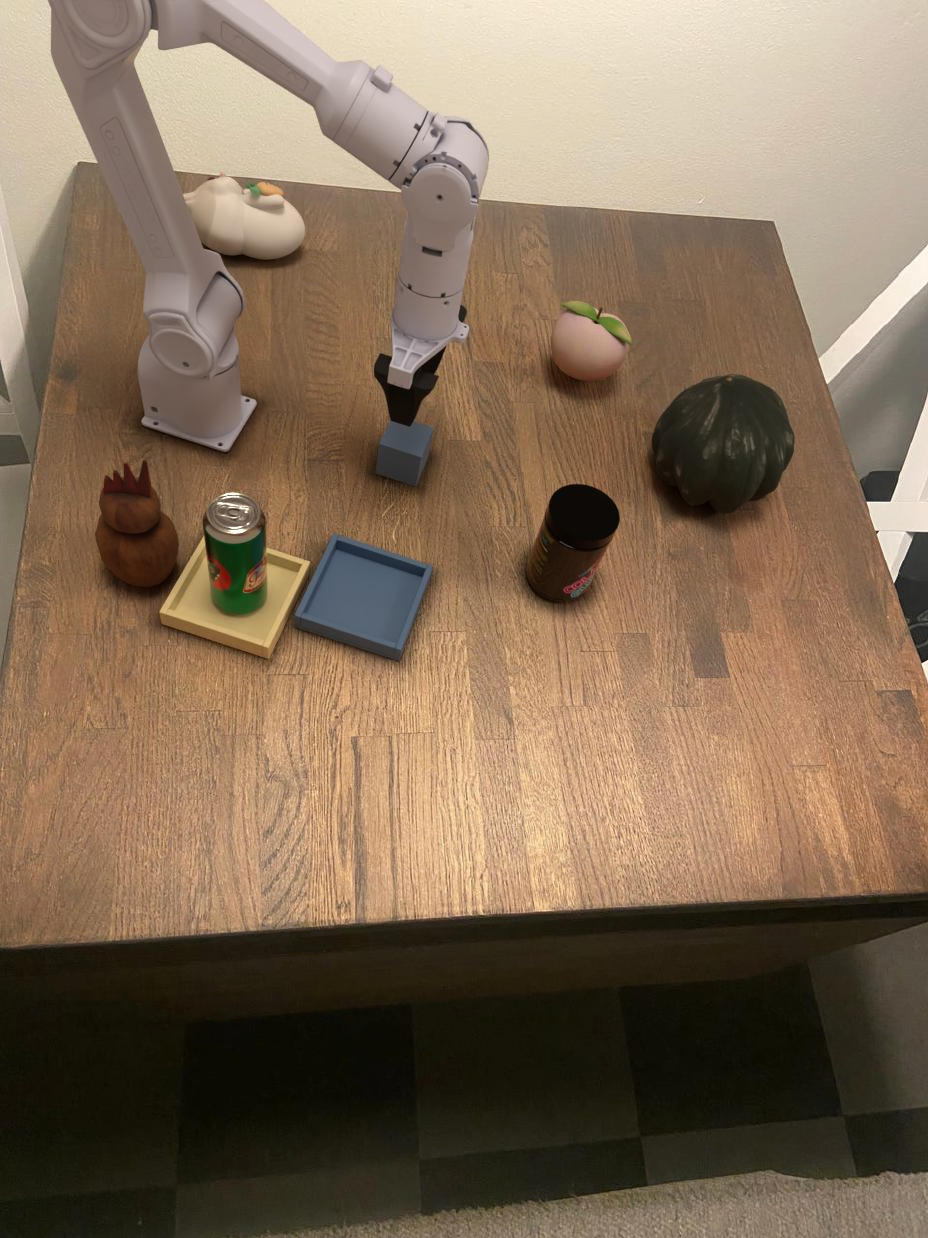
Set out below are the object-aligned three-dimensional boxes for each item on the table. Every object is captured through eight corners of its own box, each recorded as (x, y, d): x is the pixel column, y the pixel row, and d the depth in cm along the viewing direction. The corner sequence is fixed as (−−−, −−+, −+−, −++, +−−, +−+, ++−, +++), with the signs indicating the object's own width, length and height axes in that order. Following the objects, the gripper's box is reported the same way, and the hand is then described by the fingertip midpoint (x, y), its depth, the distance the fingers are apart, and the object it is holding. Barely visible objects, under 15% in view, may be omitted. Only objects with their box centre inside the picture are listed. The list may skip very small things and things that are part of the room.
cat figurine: (312, 179, 106) (178, 150, 102) (307, 247, 106) (171, 221, 102) (304, 216, 116) (180, 191, 112) (298, 278, 115) (174, 255, 111)
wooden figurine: (193, 560, 86) (177, 449, 74) (162, 606, 83) (140, 498, 71) (127, 534, 87) (101, 420, 74) (94, 579, 83) (60, 468, 71)
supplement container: (547, 614, 90) (575, 550, 81) (511, 563, 92) (534, 496, 84) (601, 591, 92) (634, 526, 84) (565, 542, 95) (593, 475, 86)
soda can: (257, 624, 83) (253, 543, 73) (203, 610, 83) (192, 527, 73) (274, 581, 86) (273, 497, 76) (222, 567, 86) (214, 482, 76)
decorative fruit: (529, 383, 107) (549, 314, 99) (551, 343, 112) (572, 274, 104) (603, 413, 107) (630, 346, 98) (622, 372, 111) (649, 304, 103)
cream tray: (161, 624, 82) (158, 611, 80) (209, 540, 88) (208, 527, 86) (268, 659, 82) (268, 647, 80) (309, 573, 88) (310, 561, 86)
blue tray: (293, 627, 84) (294, 615, 83) (332, 545, 90) (333, 533, 88) (399, 661, 84) (401, 650, 82) (430, 577, 90) (433, 565, 88)
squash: (830, 467, 100) (801, 336, 93) (758, 540, 93) (720, 405, 86) (721, 467, 111) (687, 350, 104) (648, 532, 104) (607, 411, 97)
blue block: (375, 473, 96) (378, 443, 92) (388, 444, 98) (392, 414, 95) (415, 486, 96) (421, 457, 92) (428, 457, 98) (433, 427, 95)
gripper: (453, 342, 74) (431, 458, 85) (497, 243, 82) (471, 361, 93) (369, 315, 74) (358, 435, 85) (422, 219, 82) (405, 340, 93)
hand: (413, 395), depth 89 cm, fingers open, 7 cm apart
